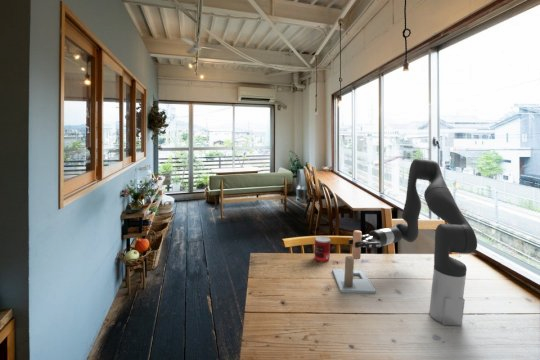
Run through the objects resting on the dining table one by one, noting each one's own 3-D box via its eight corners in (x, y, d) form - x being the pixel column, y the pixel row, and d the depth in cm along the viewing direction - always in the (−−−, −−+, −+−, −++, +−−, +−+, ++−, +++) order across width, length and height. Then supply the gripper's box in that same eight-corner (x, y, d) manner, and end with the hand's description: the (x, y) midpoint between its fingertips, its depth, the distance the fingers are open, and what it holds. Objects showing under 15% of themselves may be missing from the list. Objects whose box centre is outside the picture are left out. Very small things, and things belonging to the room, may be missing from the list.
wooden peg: (361, 259, 120) (362, 233, 118) (353, 259, 120) (354, 232, 118) (359, 256, 123) (360, 230, 121) (351, 255, 123) (352, 230, 121)
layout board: (375, 293, 111) (377, 262, 109) (340, 292, 111) (342, 261, 109) (362, 271, 128) (364, 245, 127) (332, 271, 129) (333, 244, 127)
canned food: (328, 256, 146) (329, 236, 144) (330, 262, 138) (331, 241, 136) (314, 255, 146) (314, 235, 145) (314, 262, 138) (315, 241, 137)
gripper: (369, 225, 132) (341, 230, 125) (394, 234, 120) (364, 241, 112) (369, 240, 133) (340, 246, 126) (393, 250, 121) (363, 258, 113)
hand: (352, 243), depth 119 cm, fingers closed on wooden peg, 3 cm apart
